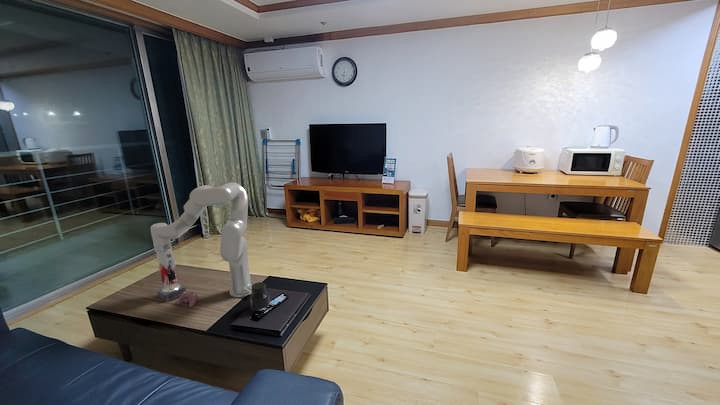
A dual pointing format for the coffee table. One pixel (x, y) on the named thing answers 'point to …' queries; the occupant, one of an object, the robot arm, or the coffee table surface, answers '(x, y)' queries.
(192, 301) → the video game controller
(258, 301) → the ink bottle
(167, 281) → the soda can
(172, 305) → the coffee table surface
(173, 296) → the motor block
